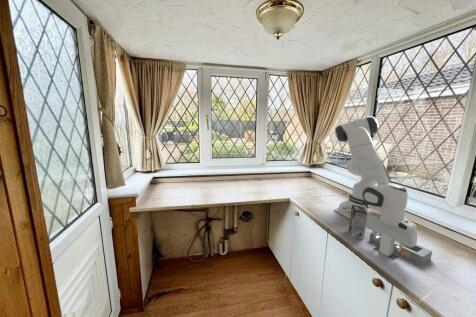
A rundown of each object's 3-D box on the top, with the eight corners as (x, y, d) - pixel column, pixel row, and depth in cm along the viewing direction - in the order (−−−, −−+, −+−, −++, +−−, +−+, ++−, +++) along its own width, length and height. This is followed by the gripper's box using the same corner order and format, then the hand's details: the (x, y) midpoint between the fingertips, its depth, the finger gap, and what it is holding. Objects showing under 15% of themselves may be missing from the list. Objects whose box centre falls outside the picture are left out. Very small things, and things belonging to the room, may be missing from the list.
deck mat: (372, 250, 99) (372, 249, 99) (378, 247, 102) (378, 246, 102) (393, 261, 92) (393, 259, 91) (398, 258, 94) (398, 257, 94)
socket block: (368, 241, 107) (370, 232, 106) (379, 236, 112) (380, 228, 111) (420, 267, 88) (422, 257, 87) (430, 260, 93) (432, 251, 92)
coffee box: (347, 230, 118) (351, 204, 116) (360, 232, 116) (364, 206, 114) (350, 237, 110) (354, 210, 107) (363, 240, 108) (368, 212, 105)
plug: (378, 251, 97) (382, 231, 96) (383, 249, 99) (386, 229, 98) (387, 256, 94) (391, 235, 92) (392, 254, 96) (396, 233, 94)
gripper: (365, 210, 101) (361, 235, 104) (414, 229, 83) (408, 259, 86) (372, 208, 104) (368, 233, 106) (421, 226, 86) (415, 255, 89)
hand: (386, 245), depth 96 cm, fingers open, 8 cm apart
